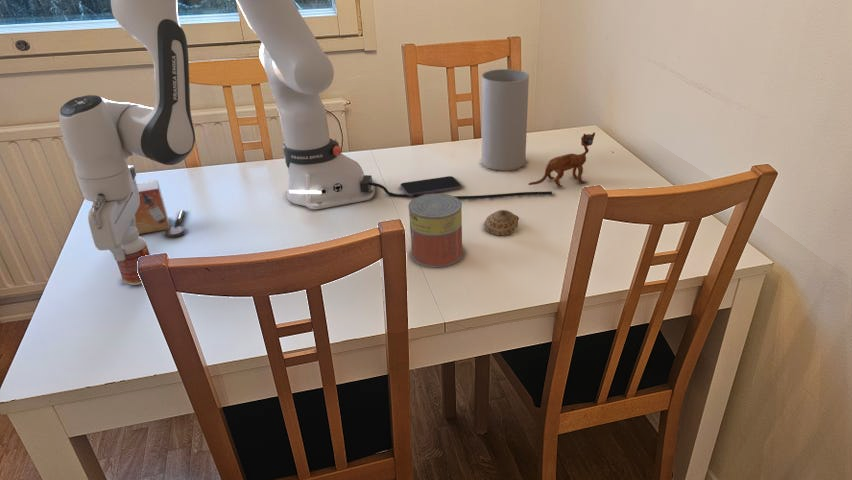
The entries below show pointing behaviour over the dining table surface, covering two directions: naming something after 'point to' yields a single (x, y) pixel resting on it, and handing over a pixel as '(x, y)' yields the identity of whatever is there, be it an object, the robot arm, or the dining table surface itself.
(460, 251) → the canned food
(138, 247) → the pill bottle
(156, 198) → the small box
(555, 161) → the cat figurine
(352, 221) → the dining table surface
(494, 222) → the seashell
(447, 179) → the smartphone
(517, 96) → the cylinder vase
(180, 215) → the long handled flat disc
